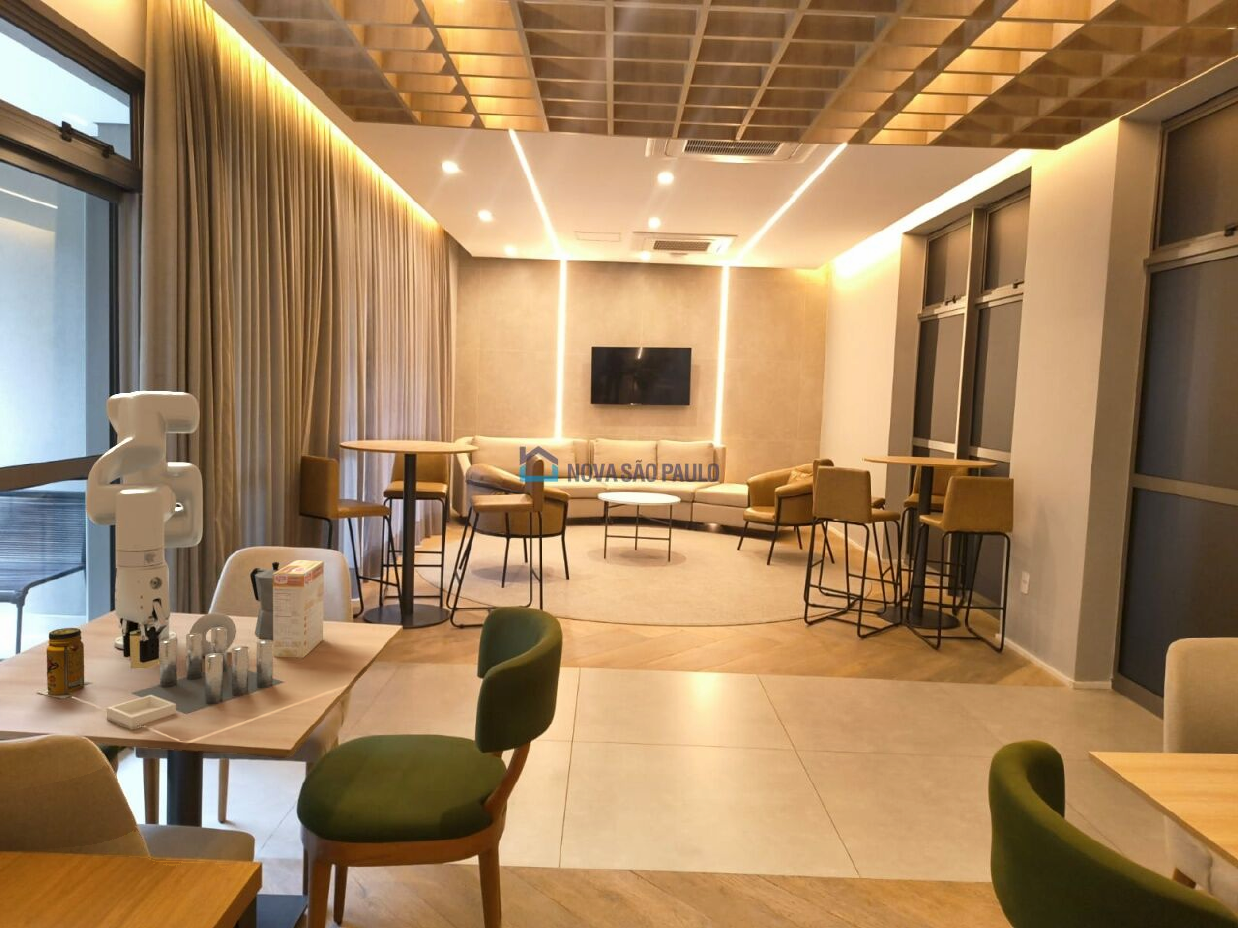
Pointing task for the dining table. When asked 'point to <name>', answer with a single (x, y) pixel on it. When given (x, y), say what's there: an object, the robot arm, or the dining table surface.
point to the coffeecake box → (298, 608)
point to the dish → (140, 711)
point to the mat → (198, 691)
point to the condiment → (65, 663)
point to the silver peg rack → (216, 664)
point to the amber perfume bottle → (138, 652)
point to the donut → (212, 622)
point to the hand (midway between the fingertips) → (141, 656)
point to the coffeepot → (264, 599)
